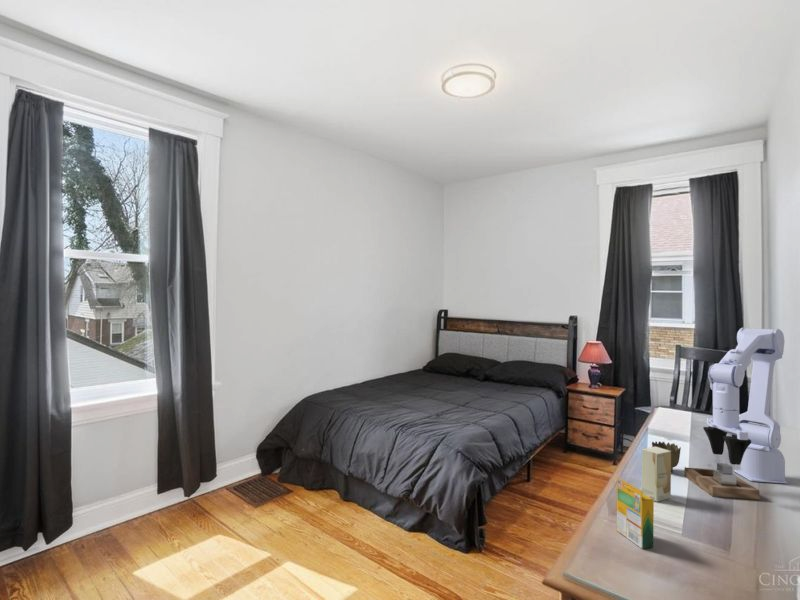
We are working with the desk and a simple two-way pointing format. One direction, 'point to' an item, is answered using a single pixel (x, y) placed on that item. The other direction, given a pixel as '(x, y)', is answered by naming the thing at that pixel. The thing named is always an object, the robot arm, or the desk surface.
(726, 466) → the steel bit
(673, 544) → the desk surface
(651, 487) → the skincare box
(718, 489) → the socket board
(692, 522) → the desk surface
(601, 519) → the desk surface
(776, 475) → the robot arm
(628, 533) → the crayon box
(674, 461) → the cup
